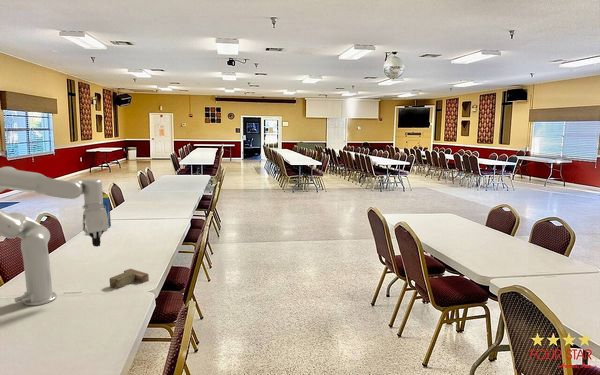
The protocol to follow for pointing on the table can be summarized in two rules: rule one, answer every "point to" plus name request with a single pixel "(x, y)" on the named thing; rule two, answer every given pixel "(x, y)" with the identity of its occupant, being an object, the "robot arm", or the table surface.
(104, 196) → the blue food package
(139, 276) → the brown rectangular bar
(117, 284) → the stone block
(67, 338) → the table surface
